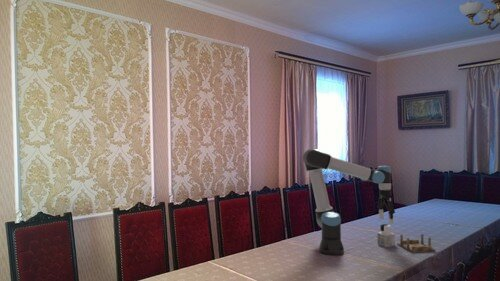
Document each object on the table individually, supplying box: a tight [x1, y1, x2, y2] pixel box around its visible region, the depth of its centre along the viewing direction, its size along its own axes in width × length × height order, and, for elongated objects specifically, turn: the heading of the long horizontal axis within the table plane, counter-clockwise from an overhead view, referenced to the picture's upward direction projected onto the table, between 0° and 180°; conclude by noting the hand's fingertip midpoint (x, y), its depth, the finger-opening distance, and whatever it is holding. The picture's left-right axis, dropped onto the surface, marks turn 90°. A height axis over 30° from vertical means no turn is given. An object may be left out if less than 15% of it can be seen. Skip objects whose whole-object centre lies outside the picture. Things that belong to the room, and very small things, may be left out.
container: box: [376, 223, 396, 248], centre depth 227 cm, size 8×8×13 cm
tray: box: [396, 233, 436, 253], centre depth 219 cm, size 16×16×8 cm
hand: (386, 221), depth 228 cm, fingers open, 13 cm apart
